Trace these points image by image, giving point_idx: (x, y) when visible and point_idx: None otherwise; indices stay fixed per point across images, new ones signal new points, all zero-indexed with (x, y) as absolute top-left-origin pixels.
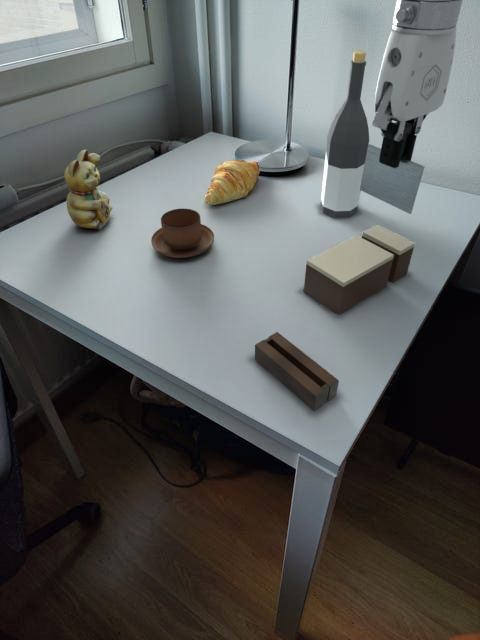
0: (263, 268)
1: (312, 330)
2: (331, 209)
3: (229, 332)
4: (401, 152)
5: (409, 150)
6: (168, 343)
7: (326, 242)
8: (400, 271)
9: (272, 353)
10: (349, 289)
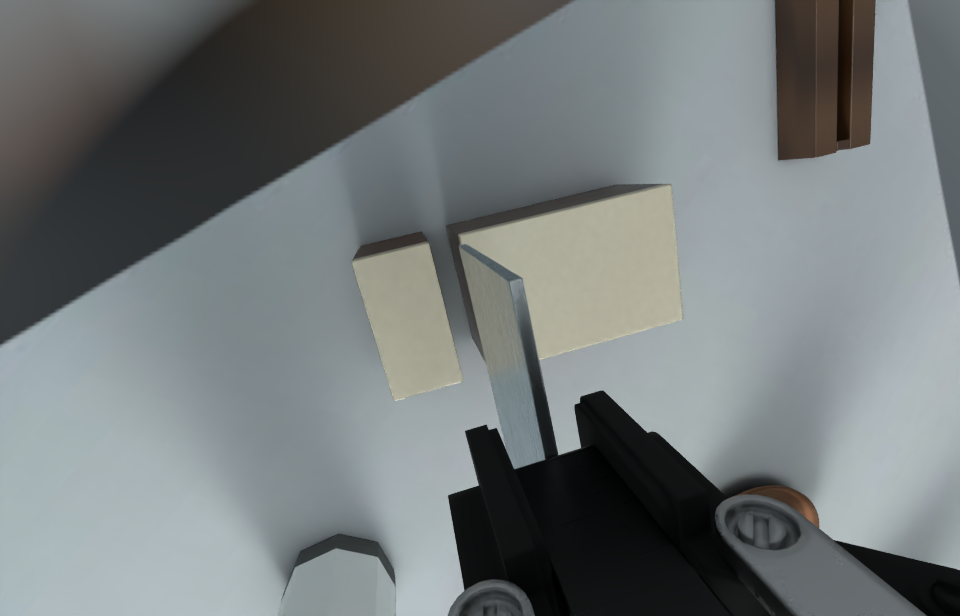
0: (653, 405)
1: (693, 167)
2: (383, 567)
3: (820, 241)
4: (627, 442)
5: (515, 473)
6: (911, 263)
7: (466, 448)
8: (396, 240)
9: (861, 100)
10: (625, 190)
